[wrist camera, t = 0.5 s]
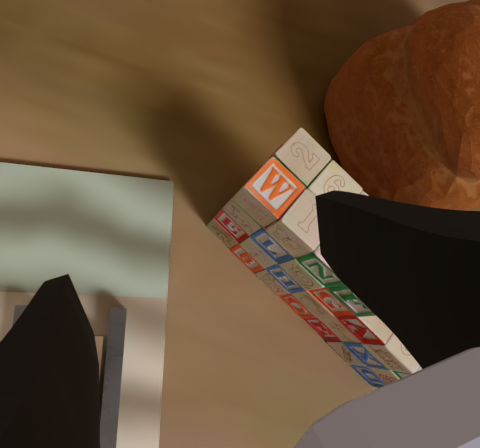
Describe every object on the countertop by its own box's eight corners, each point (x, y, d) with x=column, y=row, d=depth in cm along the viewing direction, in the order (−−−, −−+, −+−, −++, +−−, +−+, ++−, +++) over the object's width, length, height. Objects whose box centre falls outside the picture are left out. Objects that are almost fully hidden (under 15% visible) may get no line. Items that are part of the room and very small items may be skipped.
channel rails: (111, 492, 32) (111, 503, 30) (-6, 502, 29) (-14, 514, 28) (125, 309, 35) (126, 308, 33) (20, 306, 32) (15, 305, 31)
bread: (302, 87, 45) (407, -40, 29) (453, 53, 52) (603, -64, 37) (367, 246, 43) (517, 201, 27) (514, 187, 50) (699, 125, 35)
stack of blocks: (405, 334, 42) (517, 338, 31) (371, 387, 40) (478, 412, 29) (247, 179, 41) (302, 123, 30) (203, 225, 39) (243, 184, 27)
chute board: (155, 485, 33) (156, 489, 32) (-56, 501, 29) (-61, 506, 29) (172, 184, 39) (173, 181, 38) (-4, 164, 35) (-6, 161, 34)
